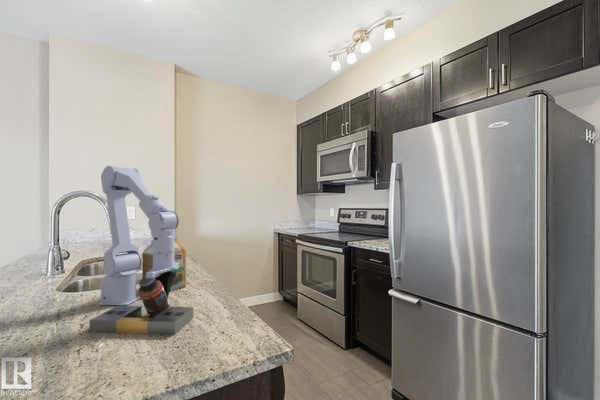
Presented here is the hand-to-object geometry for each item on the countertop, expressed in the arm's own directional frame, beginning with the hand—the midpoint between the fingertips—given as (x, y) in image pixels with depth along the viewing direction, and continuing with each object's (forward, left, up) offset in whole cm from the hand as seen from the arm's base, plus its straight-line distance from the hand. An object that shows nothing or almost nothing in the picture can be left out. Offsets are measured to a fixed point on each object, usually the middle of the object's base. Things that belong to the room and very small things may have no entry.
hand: (163, 297), depth 84 cm
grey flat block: (0, -9, -4) cm, 10 cm away
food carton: (-12, +22, -4) cm, 25 cm away
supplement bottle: (0, -2, -3) cm, 4 cm away
